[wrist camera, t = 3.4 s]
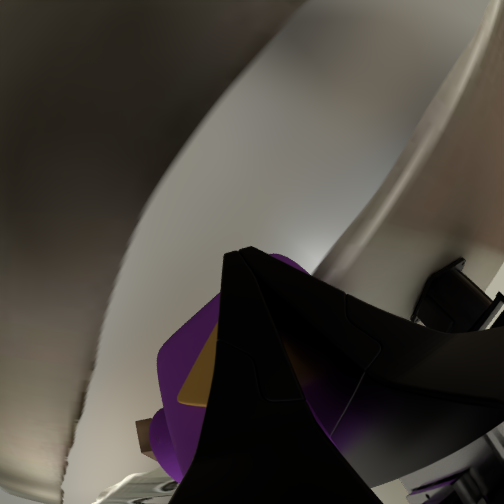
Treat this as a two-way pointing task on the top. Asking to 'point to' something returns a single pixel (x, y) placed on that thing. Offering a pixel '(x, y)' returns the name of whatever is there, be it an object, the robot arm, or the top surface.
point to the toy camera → (188, 388)
